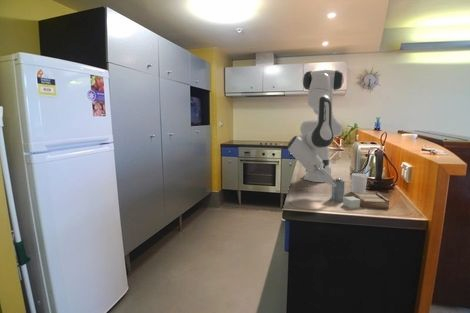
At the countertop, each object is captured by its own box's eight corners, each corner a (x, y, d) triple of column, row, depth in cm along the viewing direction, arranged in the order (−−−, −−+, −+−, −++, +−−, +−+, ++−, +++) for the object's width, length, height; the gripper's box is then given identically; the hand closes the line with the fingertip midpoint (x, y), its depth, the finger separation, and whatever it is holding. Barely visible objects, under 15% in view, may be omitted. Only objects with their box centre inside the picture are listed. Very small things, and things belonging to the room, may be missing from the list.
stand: (352, 199, 134) (353, 192, 133) (377, 200, 132) (378, 192, 132) (361, 207, 122) (361, 199, 121) (388, 208, 121) (389, 200, 120)
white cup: (367, 192, 147) (368, 174, 145) (364, 195, 140) (366, 177, 139) (351, 189, 151) (353, 172, 150) (348, 193, 145) (350, 175, 143)
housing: (330, 198, 136) (331, 177, 134) (341, 198, 135) (342, 177, 133) (333, 201, 130) (334, 179, 129) (344, 201, 130) (345, 180, 128)
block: (343, 205, 125) (343, 197, 125) (352, 204, 126) (353, 196, 126) (350, 208, 120) (350, 200, 120) (359, 208, 122) (360, 199, 121)
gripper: (322, 163, 120) (343, 184, 121) (314, 156, 141) (332, 175, 141) (312, 172, 122) (332, 193, 122) (305, 164, 142) (323, 183, 142)
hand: (332, 183), depth 132 cm, fingers open, 8 cm apart
